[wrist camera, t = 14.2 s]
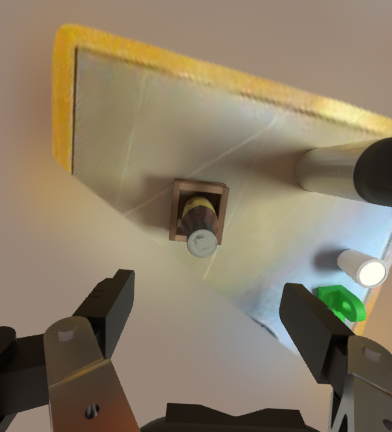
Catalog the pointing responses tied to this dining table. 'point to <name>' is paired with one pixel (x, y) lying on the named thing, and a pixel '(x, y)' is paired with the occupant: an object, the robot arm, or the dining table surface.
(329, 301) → the mechanical part
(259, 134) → the dining table surface
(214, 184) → the bottle caddy
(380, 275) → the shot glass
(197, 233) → the sauce bottle
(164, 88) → the dining table surface
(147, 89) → the dining table surface
